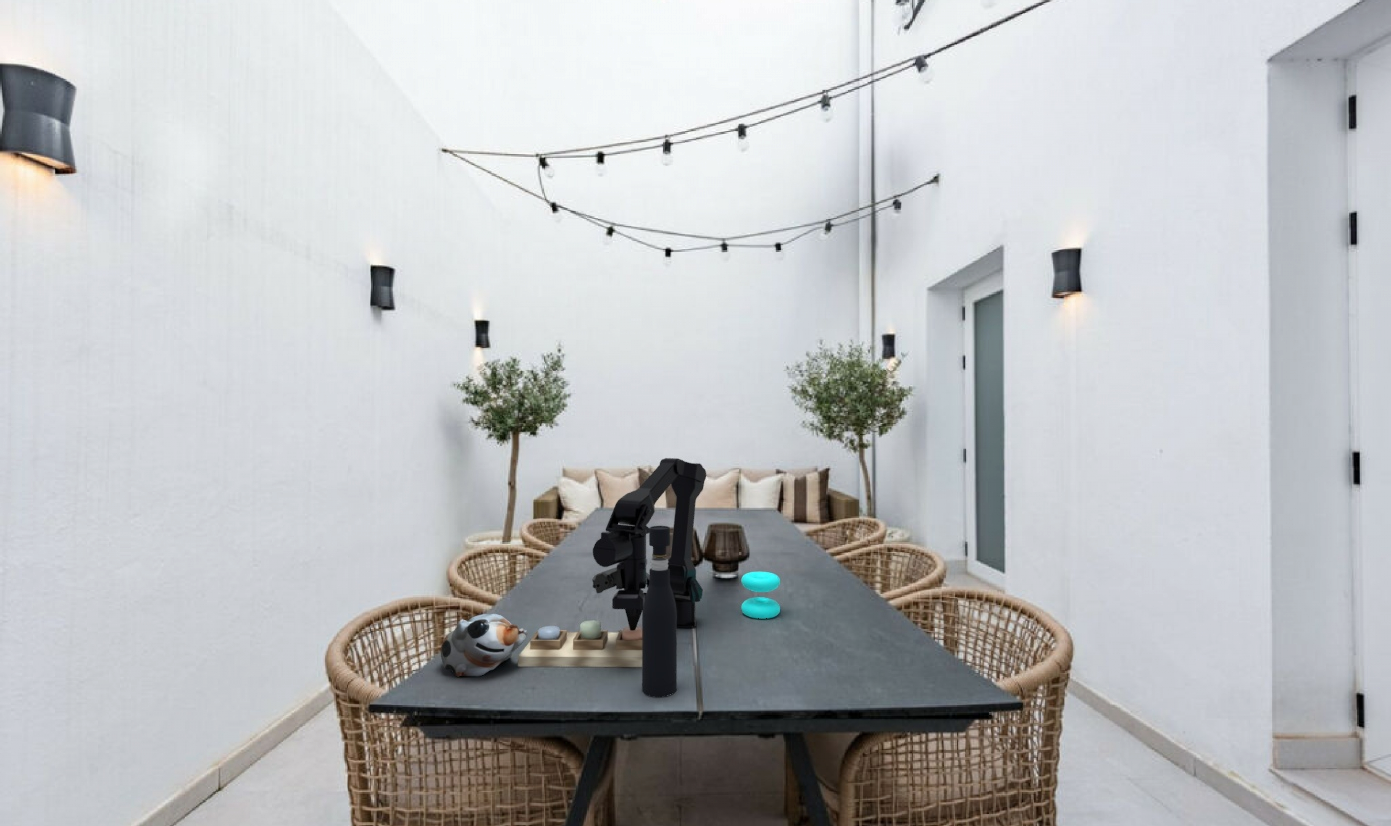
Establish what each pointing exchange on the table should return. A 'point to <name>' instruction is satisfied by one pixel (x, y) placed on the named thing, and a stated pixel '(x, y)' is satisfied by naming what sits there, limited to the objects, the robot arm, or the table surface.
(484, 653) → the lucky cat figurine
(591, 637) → the button sage
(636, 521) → the robot arm
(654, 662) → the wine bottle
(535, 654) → the button board
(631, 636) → the button terracotta
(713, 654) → the table surface
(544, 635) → the button slate
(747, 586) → the donuts
